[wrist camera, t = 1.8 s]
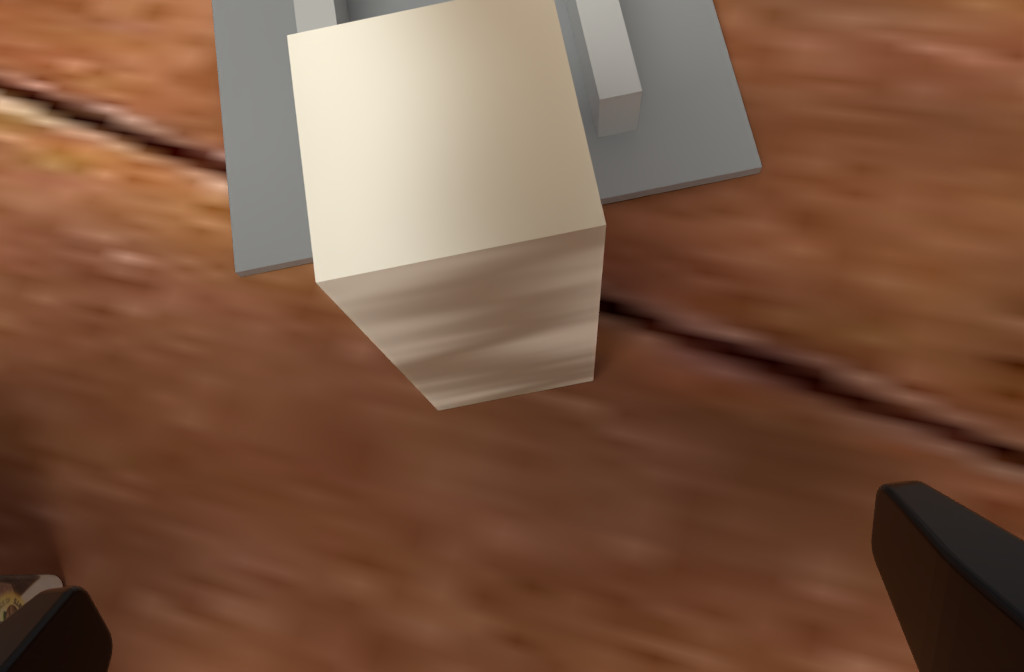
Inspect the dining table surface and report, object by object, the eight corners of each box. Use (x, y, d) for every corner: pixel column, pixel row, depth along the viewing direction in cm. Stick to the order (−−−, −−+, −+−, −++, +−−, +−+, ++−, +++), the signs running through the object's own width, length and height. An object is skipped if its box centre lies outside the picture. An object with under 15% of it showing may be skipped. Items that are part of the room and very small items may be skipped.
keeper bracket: (241, 277, 24) (186, 231, 21) (216, 1, 27) (165, -78, 24) (759, 173, 24) (788, 109, 20) (678, -97, 27) (693, -191, 23)
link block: (438, 410, 23) (315, 282, 12) (414, 259, 24) (285, 25, 13) (592, 380, 23) (606, 224, 12) (561, 230, 24) (547, -30, 13)
